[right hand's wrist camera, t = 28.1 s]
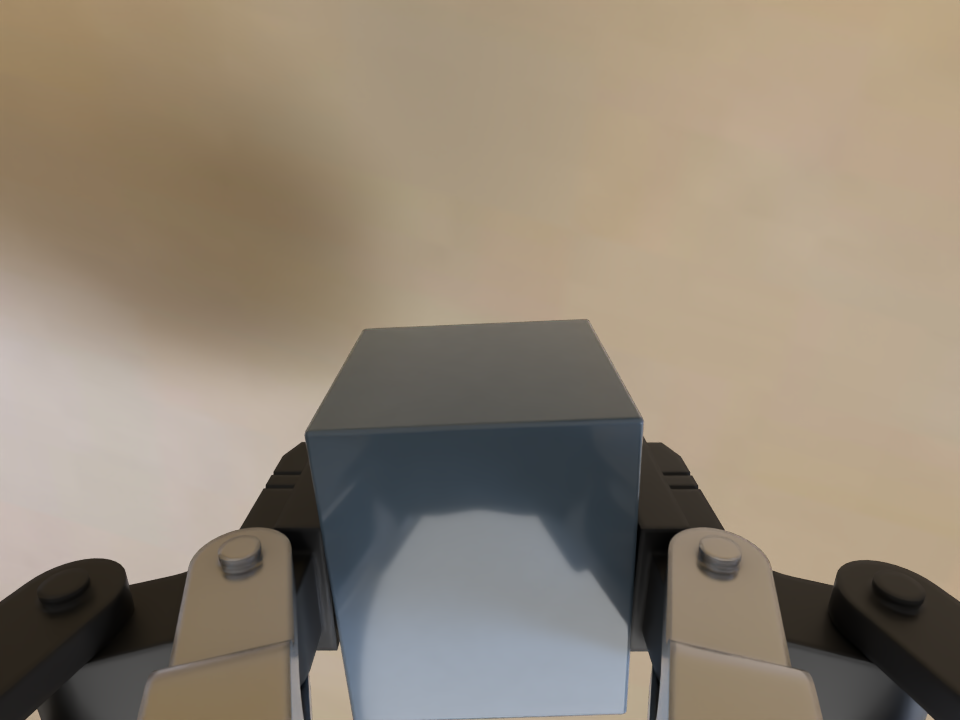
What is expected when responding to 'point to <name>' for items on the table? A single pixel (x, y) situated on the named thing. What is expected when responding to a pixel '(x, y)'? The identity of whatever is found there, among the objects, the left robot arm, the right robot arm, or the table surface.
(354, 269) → the table surface
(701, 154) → the table surface
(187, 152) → the table surface
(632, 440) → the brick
